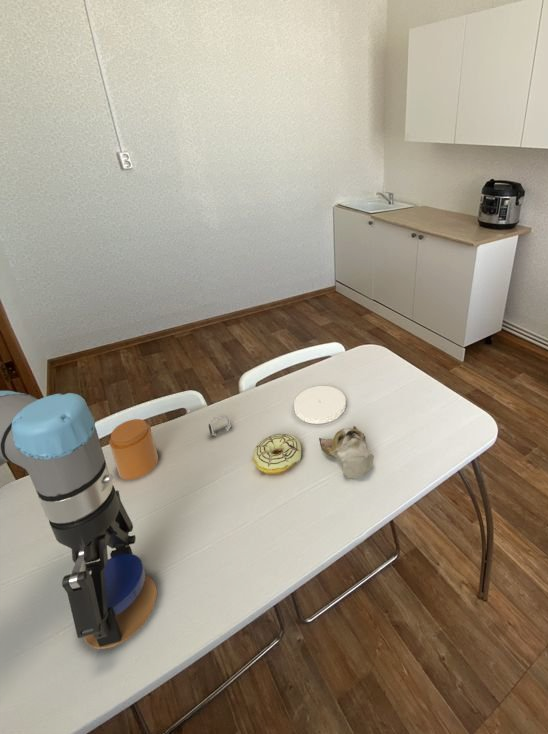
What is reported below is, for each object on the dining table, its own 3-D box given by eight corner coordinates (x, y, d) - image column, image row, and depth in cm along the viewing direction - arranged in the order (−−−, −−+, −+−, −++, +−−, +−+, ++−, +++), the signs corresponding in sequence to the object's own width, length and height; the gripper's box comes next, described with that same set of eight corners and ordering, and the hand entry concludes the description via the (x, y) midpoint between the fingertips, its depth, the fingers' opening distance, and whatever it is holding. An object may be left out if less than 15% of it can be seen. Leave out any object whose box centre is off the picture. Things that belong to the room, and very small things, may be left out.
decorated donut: (310, 463, 87) (309, 450, 86) (265, 487, 82) (264, 473, 80) (289, 436, 95) (288, 424, 94) (248, 456, 89) (246, 443, 88)
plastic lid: (289, 400, 108) (288, 393, 108) (336, 388, 113) (335, 381, 113) (302, 433, 96) (301, 425, 95) (353, 417, 101) (353, 410, 100)
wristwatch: (209, 434, 96) (206, 418, 95) (229, 426, 99) (226, 410, 97) (213, 441, 94) (210, 425, 92) (233, 432, 97) (230, 416, 95)
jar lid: (157, 569, 61) (155, 561, 61) (113, 629, 54) (110, 621, 53) (116, 555, 63) (113, 547, 63) (68, 611, 56) (64, 602, 55)
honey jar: (110, 477, 85) (98, 439, 81) (138, 450, 92) (129, 414, 88) (139, 485, 83) (128, 446, 79) (166, 457, 90) (157, 420, 86)
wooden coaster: (67, 638, 57) (66, 635, 57) (123, 570, 66) (122, 567, 66) (121, 661, 55) (119, 657, 54) (171, 586, 64) (170, 583, 63)
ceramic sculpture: (339, 460, 77) (314, 418, 90) (341, 495, 79) (317, 449, 92) (385, 443, 81) (355, 405, 94) (386, 476, 83) (357, 435, 96)
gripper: (81, 572, 43) (126, 685, 51) (134, 440, 63) (161, 537, 70) (3, 591, 42) (62, 705, 50) (82, 449, 61) (116, 548, 69)
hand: (120, 607), depth 60 cm, fingers closed on jar lid, 8 cm apart
